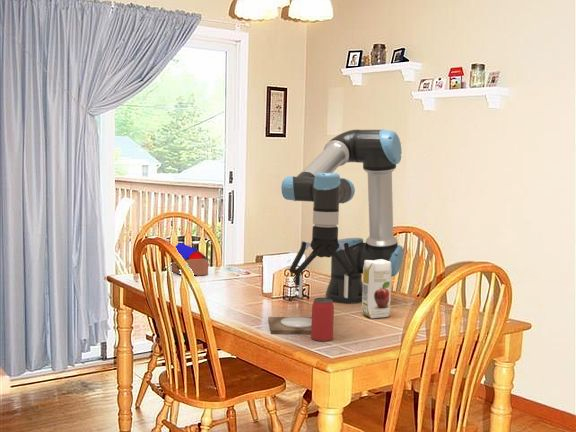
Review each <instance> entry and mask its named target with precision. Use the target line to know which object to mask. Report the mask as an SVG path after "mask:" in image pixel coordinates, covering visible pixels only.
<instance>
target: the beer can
mask: <svg viewBox="0 0 576 432" xmlns="http://www.w3.org/2000/svg"><path fill="white" fill-rule="evenodd" d="M332 301H333V300H332V299H330V298H326V297H316V298H314V299H313V302H312V305H311V317H312V324H311V334H310V338H311V339H312V340H313V341H316V342H330V341H332V340H333V338H334V323H335V322H334V317H335V305H334V302H332Z"/></svg>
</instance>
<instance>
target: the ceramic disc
mask: <svg viewBox="0 0 576 432" xmlns="http://www.w3.org/2000/svg"><path fill="white" fill-rule="evenodd" d="M289 317H290V318H285V319H282V320H281V324H282V325H283V326H286V327H291V328H309V327H311V324H312V319H309V318H303V317H304V316H289Z"/></svg>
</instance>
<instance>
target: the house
mask: <svg viewBox="0 0 576 432" xmlns="http://www.w3.org/2000/svg"><path fill="white" fill-rule="evenodd" d="M175 247H176V248H177V250H178V252H179V253H180V254H181V255H182V257H183V258H184V259H185V261H186V262H187V263H188V265H189V267H190V268H191V269H192V271H193V273H194V275H197V276H208V275H209V260H210V259H209V258H208V257H207V256H205V255H204V254H203V253H202V252H201V251H199V250H198V249H197V248H196V247H195V248H194V247H193V246H190V245H187V244H184V243H181V242H179V243H177V244H176V246H175ZM171 266H172V271H171V272H174V273H175V274H177V273H180V271H179V269H178V268H177V266H176V265H175V264H174V263H173V262H172V264H171Z"/></svg>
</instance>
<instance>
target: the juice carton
mask: <svg viewBox="0 0 576 432" xmlns="http://www.w3.org/2000/svg"><path fill="white" fill-rule="evenodd" d="M391 271H392V269H391V262H389V261H387V260H383V259H379V260H365V261H364V268H363V274H362V283H363V292H362V302H361V310H362V311H361V313H362V314H363V316H366V317H368V318H370V319H379V318H388V317H389V316H390V309H391V294H392V293H391V292H392V291H391V289H392V276H391Z"/></svg>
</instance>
